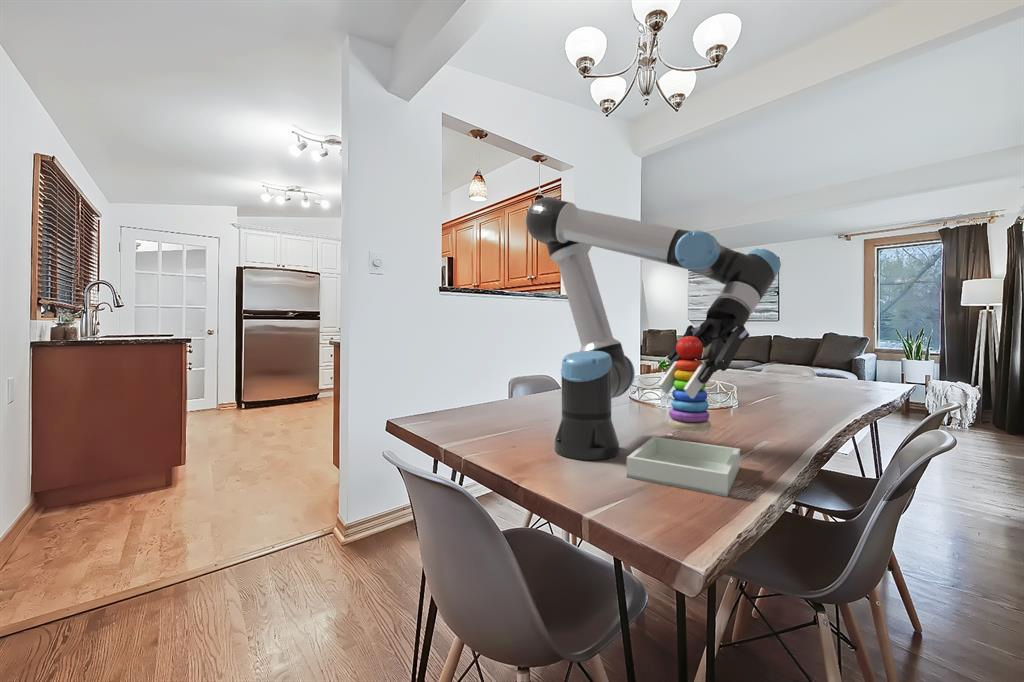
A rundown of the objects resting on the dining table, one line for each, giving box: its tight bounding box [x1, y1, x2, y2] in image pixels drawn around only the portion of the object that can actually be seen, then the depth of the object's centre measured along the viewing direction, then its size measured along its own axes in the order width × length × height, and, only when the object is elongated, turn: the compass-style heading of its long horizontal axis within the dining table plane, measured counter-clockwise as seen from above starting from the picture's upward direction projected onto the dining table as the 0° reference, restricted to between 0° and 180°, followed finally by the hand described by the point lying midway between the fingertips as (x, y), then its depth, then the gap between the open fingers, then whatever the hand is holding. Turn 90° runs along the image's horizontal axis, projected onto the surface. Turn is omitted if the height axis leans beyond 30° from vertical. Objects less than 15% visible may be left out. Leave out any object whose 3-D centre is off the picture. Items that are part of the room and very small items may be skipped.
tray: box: [626, 436, 741, 498], centre depth 88 cm, size 18×18×4 cm
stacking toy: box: [668, 336, 712, 434], centre depth 87 cm, size 8×8×19 cm
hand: (675, 391), depth 85 cm, fingers closed on stacking toy, 6 cm apart
